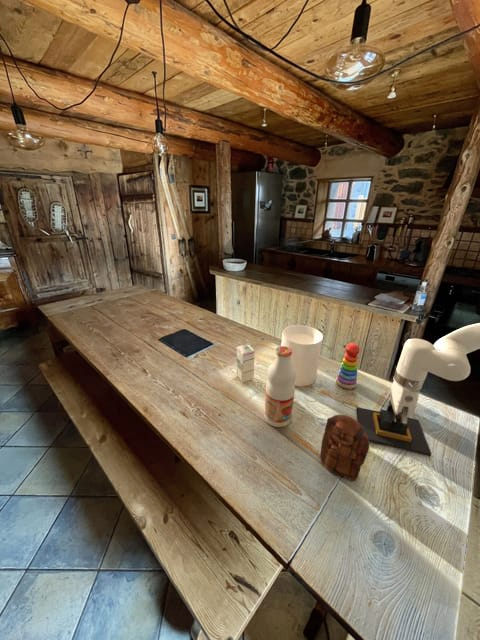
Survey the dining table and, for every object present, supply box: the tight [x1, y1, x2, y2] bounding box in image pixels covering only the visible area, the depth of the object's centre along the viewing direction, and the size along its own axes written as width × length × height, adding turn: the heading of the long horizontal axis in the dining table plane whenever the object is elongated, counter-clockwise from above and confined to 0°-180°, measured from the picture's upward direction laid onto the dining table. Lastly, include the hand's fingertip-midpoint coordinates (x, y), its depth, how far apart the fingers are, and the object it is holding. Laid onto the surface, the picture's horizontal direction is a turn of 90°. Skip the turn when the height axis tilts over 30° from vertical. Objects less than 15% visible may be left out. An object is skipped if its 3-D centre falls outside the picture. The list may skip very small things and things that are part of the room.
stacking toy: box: [335, 342, 361, 390], centre depth 106 cm, size 8×8×19 cm
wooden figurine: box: [319, 414, 370, 482], centre depth 73 cm, size 12×6×18 cm, turn 56°
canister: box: [280, 324, 324, 387], centre depth 111 cm, size 16×16×20 cm
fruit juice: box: [263, 345, 296, 428], centre depth 87 cm, size 9×9×28 cm
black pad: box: [379, 408, 408, 432], centre depth 87 cm, size 7×6×3 cm
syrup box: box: [236, 343, 256, 383], centre depth 110 cm, size 6×6×14 cm
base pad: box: [356, 406, 432, 457], centre depth 88 cm, size 20×14×2 cm
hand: (392, 422), depth 87 cm, fingers closed on black pad, 5 cm apart
